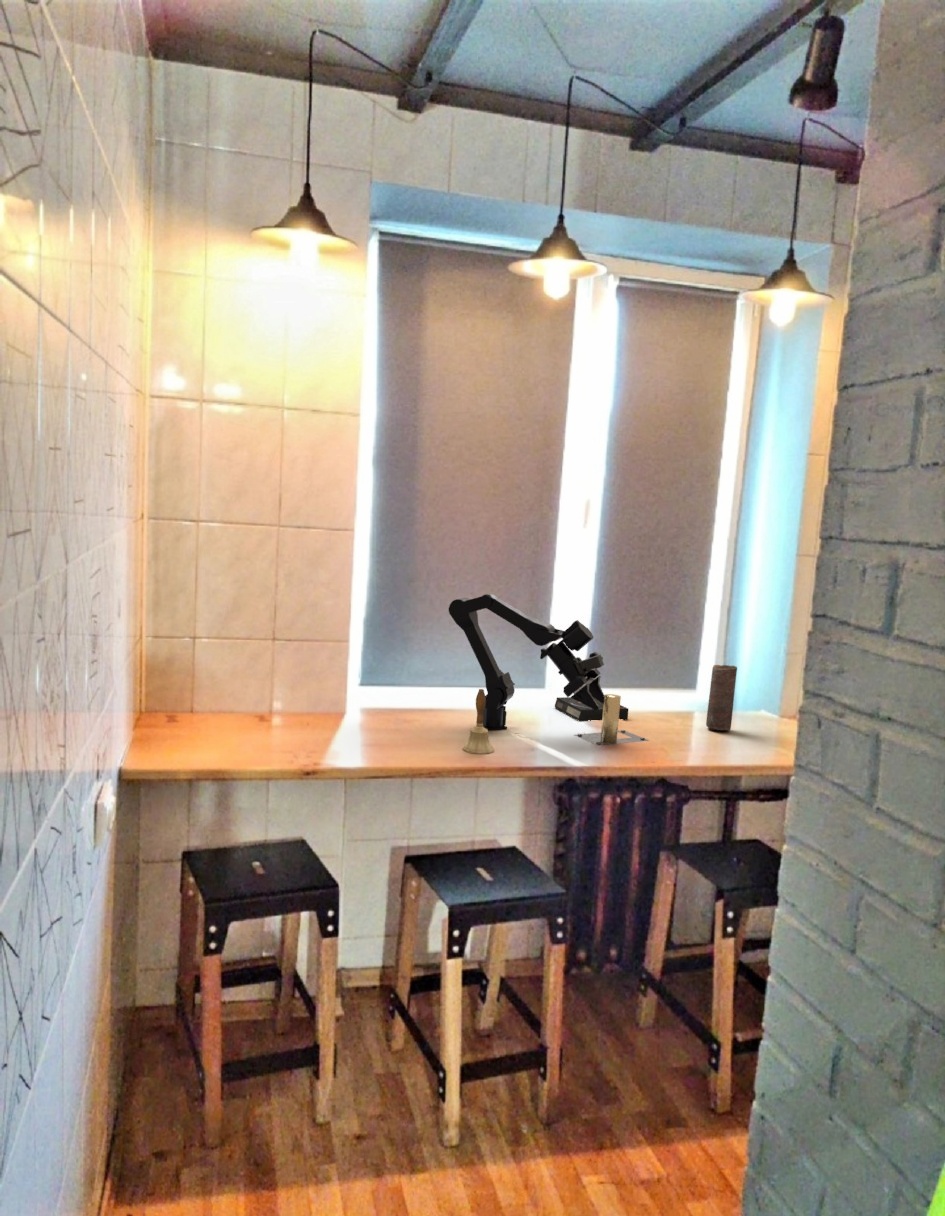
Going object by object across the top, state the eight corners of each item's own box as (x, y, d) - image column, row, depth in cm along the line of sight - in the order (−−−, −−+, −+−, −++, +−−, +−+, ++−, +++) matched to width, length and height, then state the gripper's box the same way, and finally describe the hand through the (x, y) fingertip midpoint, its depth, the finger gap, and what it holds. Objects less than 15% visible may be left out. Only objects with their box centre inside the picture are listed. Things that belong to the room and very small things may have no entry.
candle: (729, 735, 276) (736, 668, 273) (704, 731, 278) (711, 665, 276) (731, 729, 283) (737, 665, 281) (706, 726, 285) (713, 662, 283)
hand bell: (467, 754, 236) (471, 693, 234) (458, 745, 244) (462, 686, 242) (498, 754, 238) (502, 693, 236) (488, 745, 246) (492, 686, 244)
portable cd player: (554, 709, 295) (555, 697, 295) (601, 708, 301) (602, 696, 301) (578, 722, 280) (579, 709, 280) (627, 721, 286) (628, 708, 286)
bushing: (607, 743, 250) (611, 698, 249) (597, 739, 254) (601, 694, 252) (620, 742, 252) (624, 697, 251) (609, 738, 256) (613, 693, 255)
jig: (597, 750, 248) (598, 743, 247) (572, 740, 257) (573, 733, 257) (648, 745, 257) (649, 738, 257) (623, 735, 266) (623, 729, 266)
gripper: (578, 647, 244) (616, 694, 242) (595, 639, 262) (631, 682, 259) (547, 673, 248) (584, 719, 245) (566, 663, 265) (601, 706, 263)
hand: (601, 706), depth 253 cm, fingers open, 9 cm apart
